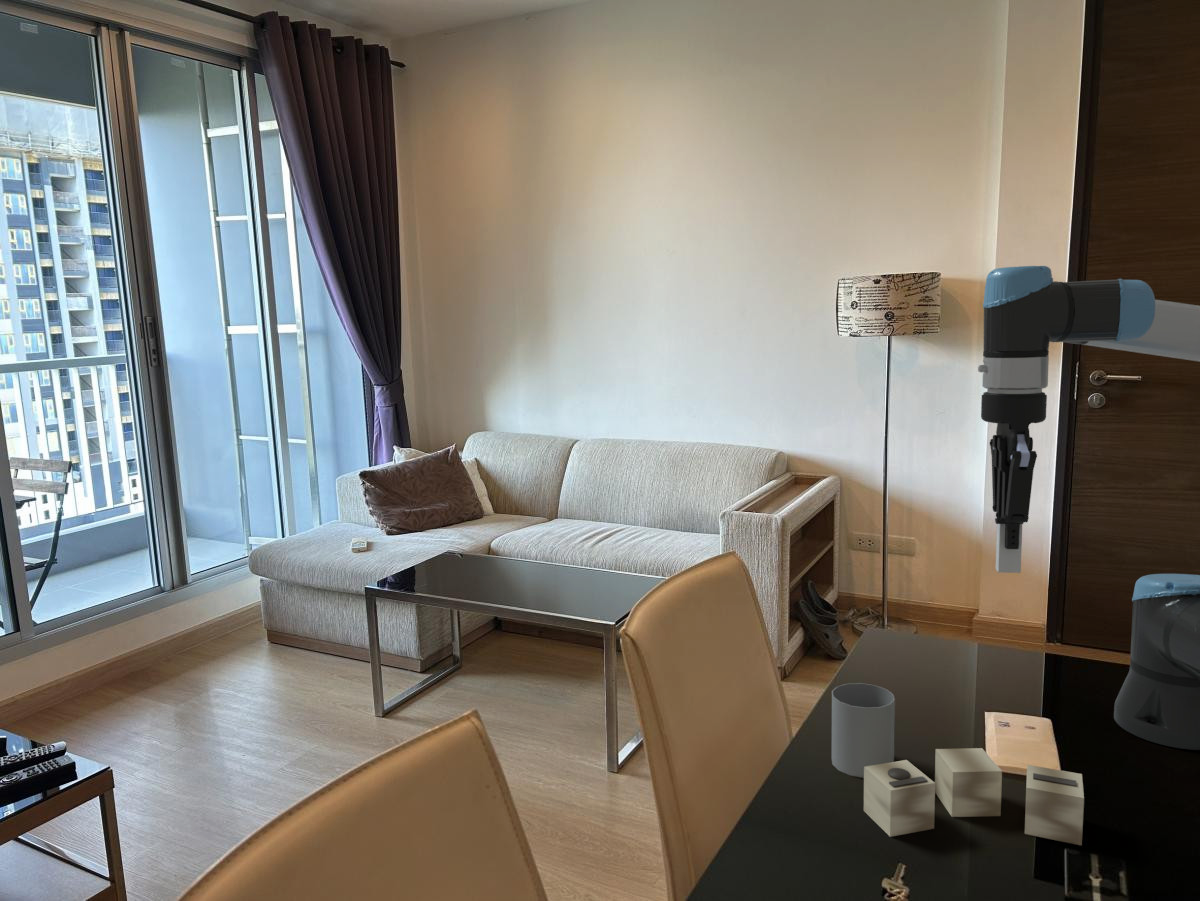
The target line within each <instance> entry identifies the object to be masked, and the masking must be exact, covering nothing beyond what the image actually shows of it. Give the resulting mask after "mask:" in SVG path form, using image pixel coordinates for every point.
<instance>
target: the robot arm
mask: <svg viewBox="0 0 1200 901" xmlns="http://www.w3.org/2000/svg"><path fill="white" fill-rule="evenodd" d="M1052 276H1053V275H1052V269H1051V268H1050V267H1049V266H1047V265H1025V266H1024V265H1023V266H1021V265H1020V266H1007V267H999V268H994V269H993V270H991V271H989V273H988V274H987V276H986V280H985V286H984V295H983V303H982V308H983V352H982V353H983V354H982V356H983V357H982V358H983V360H982V363H983V364H980V365H978V366H977V370H978V371H977V372H979V373H982V383H981V384H982V387H983V388H984V389H987V390H986V391H985V392H983V394H981V403H980V404H981V407H980V409H981V410H980V417H981V420H982V421H983V422H986V423H991V424H992V423H993V424H996V431H995V433H996V434H993V435H992V438H991V439H990V441H989V446H990V447H989V448H990V454H991V479H992V482H991V483H992V511H993V512H994V513H995V518H994V522H995V524H996V543H995V545H996V546H995V548H996V549H995V570H996V571H997V573H1007V574H1009V573H1011V574H1013V573H1014V574H1015V573H1017V574H1021V572H1022V547H1023V546H1022V544H1023V543H1022V542H1023V525H1024V523H1028V522H1029V514H1030V504H1031V495H1032V486H1033V479H1034V471H1035V470H1034V468H1035V465H1036V460H1037V458H1038V454H1037V451H1036V450H1034V447H1033V446H1034V439H1033V436H1030V428H1029V427H1030V425H1031V424H1039V423H1043V422H1044V421H1045V420H1046V418H1047V401H1048V400H1047V399H1048V396H1047V394H1046V393H1045V392H1043V390H1044V389H1046V388H1047V387H1048V386H1049V361H1050V360H1049V358H1050V356H1049V354H1050V353H1049V352H1050V351H1049V350H1050V349H1049V347H1050V343H1066V344H1067V343H1068V344H1075V345H1081V346H1090V347H1096V348H1097V347H1098V348H1102V349H1109V350H1110V349H1111V350H1117V351H1125V352H1132V353H1138V354H1145V355H1152V356H1160V357H1166V358H1173V359H1179V360H1188V361H1192V362H1193V361H1194V362H1200V305H1198V304H1197V305H1195V304H1191V303H1190V304H1189V303H1184V302H1183V303H1182V302H1176V301H1167V300H1162V299H1156V298H1155V294H1154V291H1153V289H1152V288H1151V286H1150V285H1149V284H1148V283H1147V282H1145V281H1143V280H1140V279H1122V278H1117V279H1100V280H1082V281H1081V280H1080V281H1057V280H1056V281H1054V278H1053V277H1052ZM1133 589H1134V590H1133V594H1132V597H1131V602H1132V616H1131V617H1132V618H1131V619H1132V620H1131V640H1130V641H1131V642H1130V659H1129V660H1130V663H1129V664H1130V665H1129V671H1128V673H1127V676H1126V677H1125V679H1124V682H1123V683H1122V686H1121V688H1120V690H1119V691H1118V695H1116V696H1117V697H1116V699H1115V702H1114V708H1113V710H1114V711H1113V719H1114V721H1115V722H1116V724H1117V725H1118V726H1119V727H1121V728H1122V729H1123V730H1125V731H1126V732H1128V733H1130V734H1131V735H1134V736H1135V737H1138V738H1140V739H1143V740H1146V741H1148V742H1151V743H1155V744H1158V745H1162V746H1166V747H1171V748H1174V749H1175V748H1177V749H1182V750H1190V751H1191V750H1192V751H1200V574H1188V573H1154V574H1147V575H1142V576H1141V577H1139V578H1138V579H1137V580H1136V582H1135V584H1134V588H1133Z"/></svg>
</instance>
